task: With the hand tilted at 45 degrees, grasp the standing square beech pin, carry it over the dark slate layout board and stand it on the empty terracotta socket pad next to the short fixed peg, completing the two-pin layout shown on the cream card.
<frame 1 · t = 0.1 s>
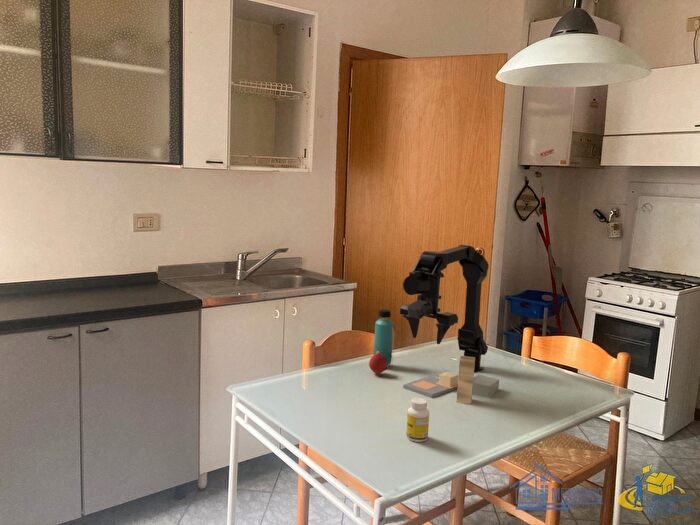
hand: (426, 340, 183), 15 cm above the table, tool pointing down, fingers open, 9 cm apart
onion: (377, 375, 194), on the table
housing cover: (482, 390, 183), on the table
beverage bottle: (381, 366, 203), on the table
layout card: (449, 381, 191), on the table
supplement bottle: (416, 438, 146), on the table
layout board: (430, 387, 184), on the table
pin: (464, 400, 174), on the table
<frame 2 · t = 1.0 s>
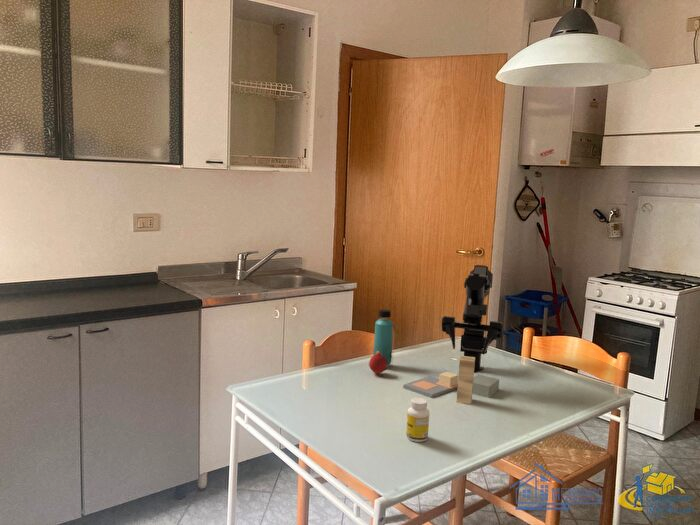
hand: (468, 350, 180), 13 cm above the table, tool tilted 45°, fingers open, 9 cm apart
nothing on the table moved.
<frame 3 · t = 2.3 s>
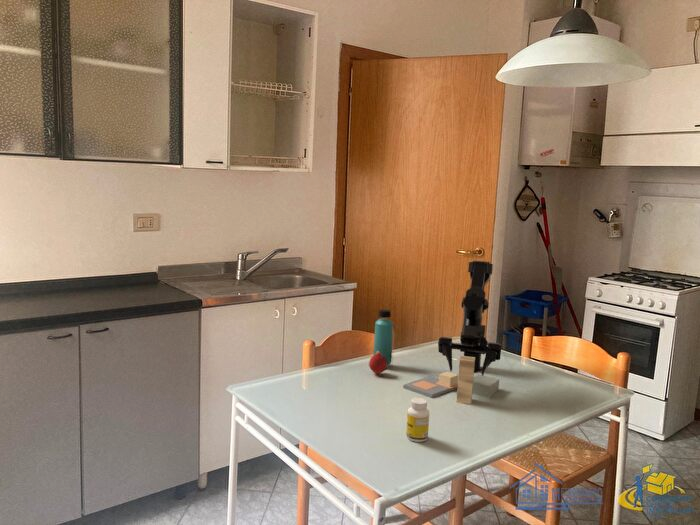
hand: (466, 372, 173), 8 cm above the table, tool tilted 45°, fingers open, 9 cm apart
nothing on the table moved.
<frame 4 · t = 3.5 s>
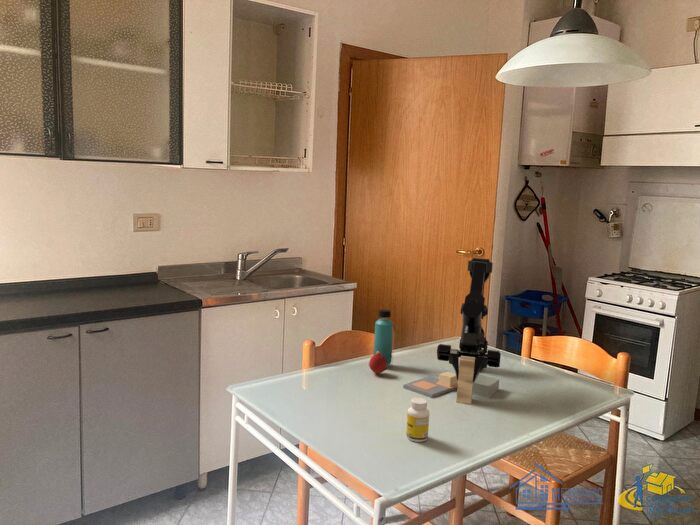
hand: (465, 380, 172), 7 cm above the table, tool tilted 45°, fingers closed on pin, 4 cm apart
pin: (464, 400, 174), on the table, touching gripper
everything else where it was.
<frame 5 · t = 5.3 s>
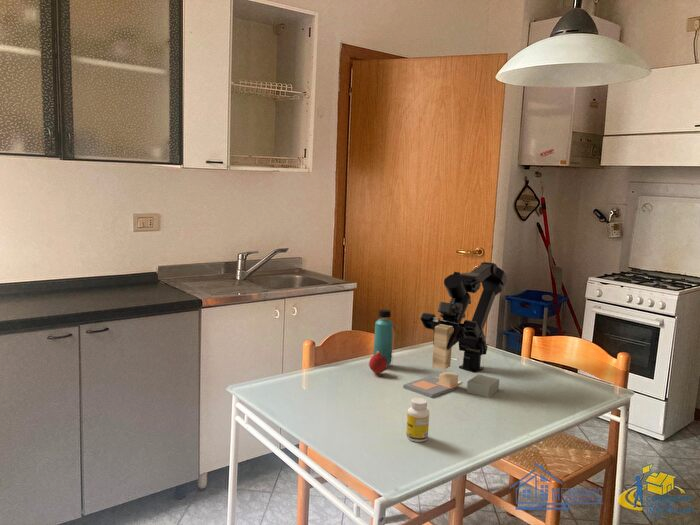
hand: (440, 347, 181), 13 cm above the table, tool tilted 45°, fingers closed on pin, 4 cm apart
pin: (441, 366, 183), point 7 cm above the table, touching gripper
everything else where it was.
when the fingers open (8 cm above the table, at t = 7.4 s): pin stays where it is, resting on layout board.
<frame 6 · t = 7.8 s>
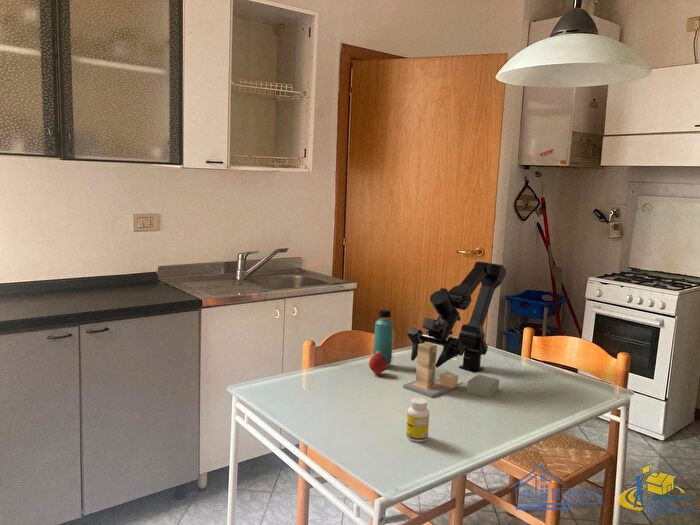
hand: (423, 363, 181), 8 cm above the table, tool tilted 45°, fingers open, 9 cm apart
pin: (424, 384, 183), point 1 cm above the table, touching layout board
everything else where it was.
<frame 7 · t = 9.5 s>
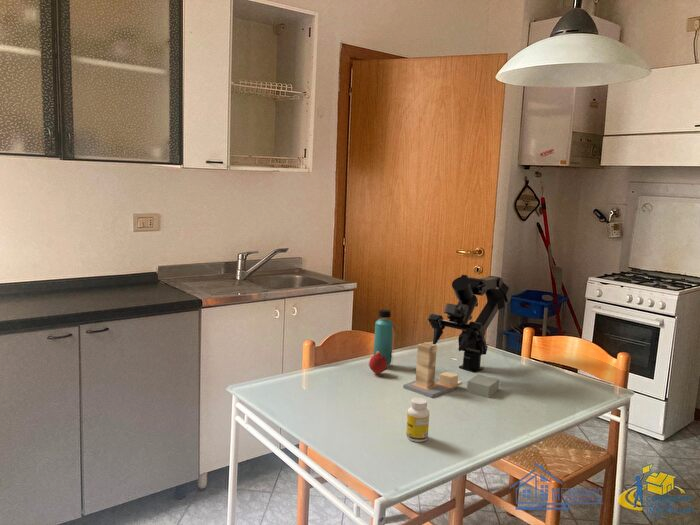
hand: (446, 347, 187), 12 cm above the table, tool tilted 45°, fingers open, 9 cm apart
nothing on the table moved.
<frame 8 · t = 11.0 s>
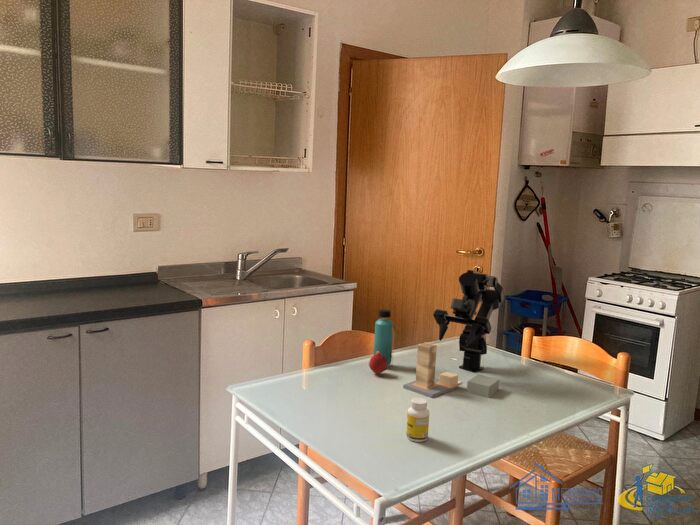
hand: (452, 342, 187), 14 cm above the table, tool tilted 45°, fingers open, 9 cm apart
nothing on the table moved.
at the end: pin 0.0 cm from the target spot on the layout board, point 1.1 cm above the layout board's base; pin tilted 0°; the gripper is holding nothing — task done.
